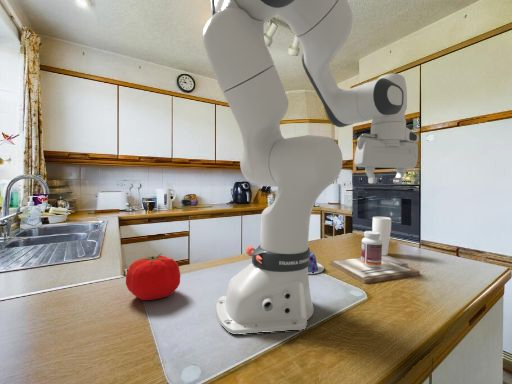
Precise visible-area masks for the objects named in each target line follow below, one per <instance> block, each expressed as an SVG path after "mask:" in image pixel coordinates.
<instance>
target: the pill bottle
mask: <svg viewBox="0 0 512 384" xmlns="http://www.w3.org/2000/svg"><path fill="white" fill-rule="evenodd" d="M363 235H364V237H363V238H362V239H361V250H360V251H361V252H360V258H361V263H362V264H363V265H365V266H368V267H374V268H377V267H380V266H381V259H382V241H381V240H380V239H379V237H380V233H378V232H374V231H372V230H365V231H364V234H363Z"/></svg>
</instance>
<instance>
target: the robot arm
mask: <svg viewBox="0 0 512 384" xmlns="http://www.w3.org/2000/svg"><path fill="white" fill-rule="evenodd" d="M210 8H211V14H212V16H211V17H209V20H207V22H206V24H205V26H204V28H203V32H202V43H203V46H204V49H205V53H206V56H207V58H208V59H207V60H208V62H209V64H210V67H211V71H212V72H213V74H214V78H215V79H216V81H217V84H218V86H219V88H220V90H221V92H222V94H223V96H224V98H225V100H226V102H227V104H228V106H229V108H230V110H231V112H232V114H233V116H234V119H235V121H236V123H237V125H238V128H239V132H240V134H241V138H242V146H243V152H242V154H241V156H240V159H239V160H240V161H239V165H240V171H241V174H242V176H243V177H244V178H245V180H247V181H248V182H251V183H252V184H255V185H258V186H262V187H274V188H275V187H276V188H277V192H276V196H275V198H274V200H273V202H272V203H271V204H270V205H268V206H267V207H266V208H264V209H263V211H262V212H261V214H260V229H259V230H260V232H259V234H260V237H259V242H260V243H259V245H258V247H256V248H254V246H252V245H249V246H247V247H246V248H245V253H246V254H247V255H248V256H249V257H251V262H250V263H249V264H247V266H246V267H244V268H243V269H242V270H240V271H239V272H238V273H237V274H235V275H234V276H233V277H232V278H231V279H230V280H229V282H228V284H227V289H226V295H222V296H220V297H219V298H218V299H217V301H216V306H215V313H217V314H216V317H218V318H217V320H218V319H219V320H218V322H219V321H220V322H219V324H220V323H221V324H222V326H223V327H224V328H225V329H227V330H228V331H230V332H232V333H236V334H238V333H250V332H251V333H252V332H262V331H281V330H282V331H283V330H284V331H285V330H299V331H303V330H302V329H304V330H306V329H307V327H306V326H308V321H309V319H310V318H311V317H312V316H313V314H314V308H315V307H314V305H313V304H314V303H313V300H312V295H311V291H310V290H311V289H310V279H309V274H308V273H309V272H308V270H309V266H310V252H311V249H310V247H309V237H310V236H309V235H310V234H309V233H310V224H311V215H312V211H313V208H314V206H315V204H316V203H317V200H318V199H319V197H320V195H321V194H322V193H323V192H324V191H325V190H326V189H327V188H328V187H329V186H331V185H333V184H334V182H335V181H336V180H337V179H338V178H339V177H340V174H341V171H342V169H343V161H344V159H343V153H342V150H341V148H340V146H339V145H338V143H337V142H336V141H335V139H333V138H332V137H329V136H323V135H312V134H311V135H310V134H308V135H307V134H306V135H299V136H294V137H286V138H285V137H284V136H283V135H282V131H281V127H280V122H281V121H282V120H283V119H284V118H285V116H286V113H287V111H288V108H289V99H288V96H287V93H286V91H285V89H284V86H283V83H282V80H281V78H280V75H279V73H278V70H277V67H276V65H275V62H274V60H273V57H272V55H271V52H270V50H269V49H268V46H267V44H266V39H265V33H264V27H265V24H266V23H268V22H269V21H271V20H272V19H273V18H274V17H275V16H277V15H278V16H280V17H282V18H283V19H284V20H285V21H286V24H287V25H288V26H289V28H290V29H291V32H293V34H294V35H295V36H296V38H297V40H298V41H299V43H300V45H301V48H302V54H301V63H302V67H303V69H304V71H305V74H306V76H307V77H308V79H309V81H310V84H311V85H312V87H313V88H314V90H315V93H316V94H317V96H318V98H319V99H320V101H321V103H322V104H323V107H324V109H325V113H326V115H327V118H328V120H329V122H331V124H333V125H334V126H336V127H338V128H344V127H348V126H351V125H353V124H354V125H355V124H358V123H363V122H368V121H371V120H372V121H371V124H370V133H362V134H360V135H359V136H358V137H357V140H356V141H357V142H356V143H357V144H356V148H355V153H354V158H353V159H354V161H353V163H354V165H355V167H357V168H365V169H364V172H365V174H366V176H367V178H368V179H367V181H368V184H377V183H378V181H377V180H378V177H377V176H375V173H374V172H375V169H376V168H381V169H382V168H383V169H395V172H396V175H395V177H393V179H392V180H393V181H392V183H393V184H397V185H399V184H400V185H401V184H402V183H403V178H404V176H405V174H406V172H407V169H415V168H416V166H417V165H418V160H419V159H418V158H419V147H418V144H417V143H418V142H419V140H420V137H419V134H417V133H416V132H414V131H412V130H411V129H410V128H409V127H407V126H406V125H407V120H406V112H407V109H408V108H407V107H408V91H407V90H408V89H407V88H408V87H407V83H406V78H405V76H403V75H402V74H400V73H387V74H382V75H380V76H379V77H378V78H376V79H373V80H371V81H368V82H364V83H362V84H360V85H357V86H355V87H351V88H349V89H344V88H343V89H342V88H340V87H339V85H338V83H337V82H336V80H335V77H334V75H333V73H332V71H331V69H330V66H329V64H330V62H332V60H334V58H335V57H336V56H337V55H338V54H339V52H340V51H341V50H342V48H343V47H344V45H345V44H346V42H347V40H348V38H349V36H350V34H351V30H352V26H353V12H352V9H351V6H350V3H349V1H348V0H210ZM307 320H308V321H307ZM221 324H220V325H221ZM222 326H221V327H222ZM223 327H222V328H223ZM224 328H223V329H224ZM305 328H306V329H305ZM225 329H224V330H225ZM285 332H286V331H285Z"/></svg>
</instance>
